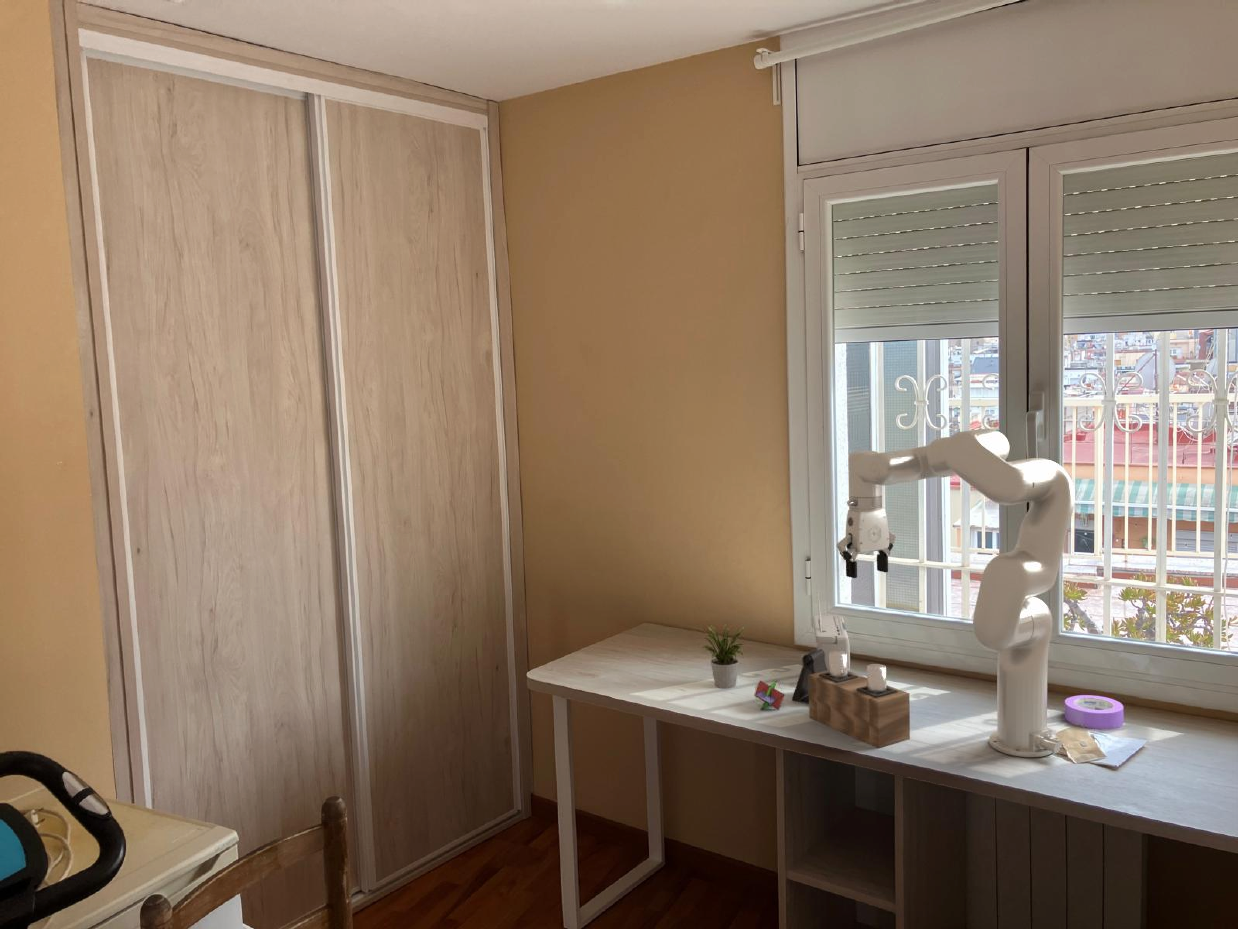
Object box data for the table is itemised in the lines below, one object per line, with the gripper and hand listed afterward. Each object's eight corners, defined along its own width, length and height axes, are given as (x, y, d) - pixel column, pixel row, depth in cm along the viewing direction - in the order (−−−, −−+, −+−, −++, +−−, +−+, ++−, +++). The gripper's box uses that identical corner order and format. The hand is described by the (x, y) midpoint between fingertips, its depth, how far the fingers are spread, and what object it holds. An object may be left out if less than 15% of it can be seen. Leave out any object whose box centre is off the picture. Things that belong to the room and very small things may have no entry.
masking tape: (1054, 720, 219) (1055, 703, 218) (1079, 707, 226) (1079, 691, 226) (1108, 734, 210) (1109, 717, 209) (1132, 720, 217) (1133, 703, 217)
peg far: (851, 693, 222) (851, 654, 221) (838, 696, 220) (837, 657, 219) (839, 688, 226) (838, 649, 225) (826, 691, 224) (825, 653, 223)
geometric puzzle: (796, 698, 232) (776, 669, 234) (783, 707, 227) (764, 677, 229) (774, 712, 236) (755, 683, 238) (761, 721, 230) (742, 691, 233)
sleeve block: (909, 738, 211) (909, 691, 210) (878, 748, 207) (878, 700, 206) (839, 709, 230) (838, 665, 229) (809, 717, 226) (808, 673, 225)
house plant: (687, 693, 245) (685, 629, 243) (696, 675, 259) (694, 614, 257) (745, 696, 242) (743, 631, 240) (751, 677, 255) (749, 616, 253)
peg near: (890, 708, 212) (890, 667, 211) (876, 712, 210) (876, 671, 209) (877, 703, 215) (876, 662, 214) (863, 706, 213) (862, 666, 212)
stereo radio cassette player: (850, 688, 244) (849, 609, 242) (816, 688, 246) (815, 609, 243) (845, 662, 265) (843, 589, 263) (813, 662, 266) (812, 589, 264)
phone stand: (791, 700, 237) (790, 652, 236) (803, 693, 242) (802, 645, 241) (826, 707, 232) (825, 657, 231) (837, 700, 237) (836, 651, 235)
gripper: (848, 508, 226) (850, 582, 228) (904, 500, 234) (905, 571, 236) (826, 505, 233) (828, 576, 235) (882, 497, 241) (883, 567, 243)
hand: (867, 574), depth 235 cm, fingers open, 9 cm apart
